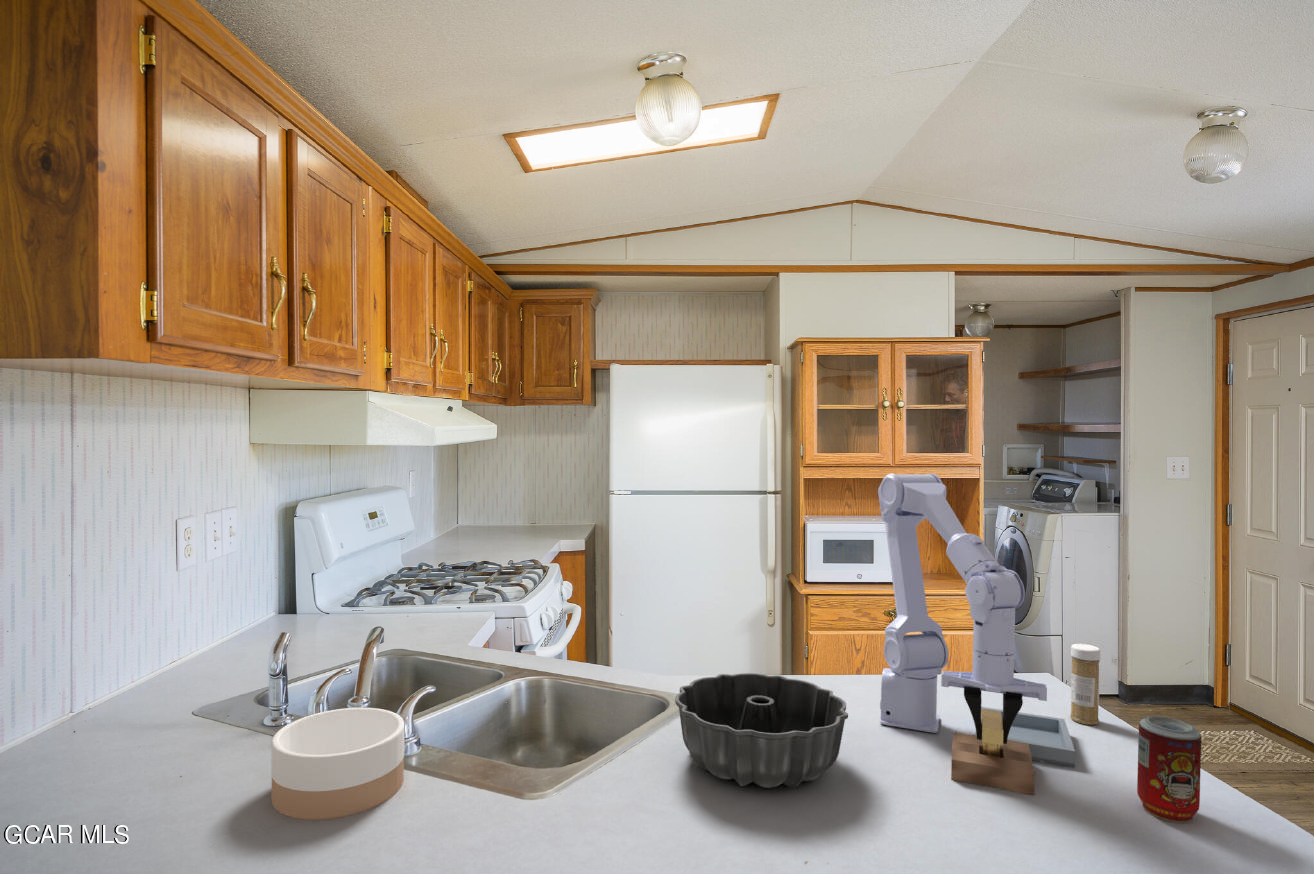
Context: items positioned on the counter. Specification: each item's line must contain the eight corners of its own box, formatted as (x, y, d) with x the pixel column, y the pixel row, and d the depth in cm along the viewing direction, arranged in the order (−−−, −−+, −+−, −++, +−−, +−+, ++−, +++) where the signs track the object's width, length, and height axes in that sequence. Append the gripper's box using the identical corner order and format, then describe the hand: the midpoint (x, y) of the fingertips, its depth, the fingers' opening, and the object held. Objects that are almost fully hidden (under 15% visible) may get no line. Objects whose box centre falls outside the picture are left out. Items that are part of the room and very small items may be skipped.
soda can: (1159, 825, 97) (1161, 733, 97) (1125, 798, 104) (1127, 712, 104) (1212, 826, 97) (1215, 734, 97) (1175, 799, 104) (1177, 713, 104)
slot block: (951, 779, 109) (951, 759, 109) (952, 750, 120) (953, 731, 120) (1034, 795, 105) (1034, 774, 105) (1028, 763, 115) (1028, 744, 115)
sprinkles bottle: (1103, 722, 132) (1105, 647, 132) (1090, 727, 130) (1092, 651, 129) (1077, 714, 136) (1079, 641, 136) (1064, 719, 133) (1066, 645, 133)
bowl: (428, 772, 110) (429, 716, 109) (344, 831, 93) (345, 765, 93) (335, 754, 115) (336, 700, 115) (241, 806, 99) (241, 744, 99)
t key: (980, 750, 117) (981, 708, 117) (1000, 753, 115) (1000, 711, 115) (981, 771, 109) (982, 727, 109) (1002, 775, 108) (1003, 730, 108)
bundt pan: (746, 716, 133) (746, 660, 133) (879, 765, 114) (881, 700, 114) (639, 760, 114) (640, 696, 114) (777, 828, 96) (779, 751, 95)
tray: (976, 750, 120) (976, 735, 120) (975, 719, 132) (975, 705, 132) (1074, 767, 114) (1075, 751, 114) (1064, 733, 127) (1064, 719, 127)
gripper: (941, 651, 111) (939, 740, 111) (1049, 664, 106) (1047, 758, 106) (942, 639, 118) (941, 723, 118) (1045, 651, 112) (1043, 739, 112)
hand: (991, 739), depth 112 cm, fingers closed on t key, 3 cm apart
